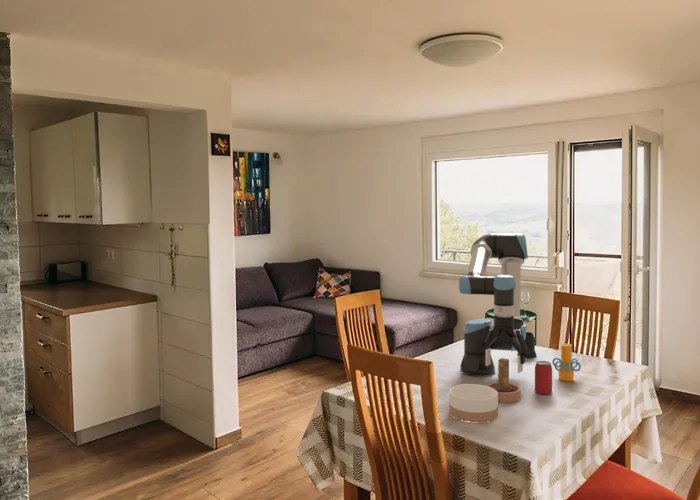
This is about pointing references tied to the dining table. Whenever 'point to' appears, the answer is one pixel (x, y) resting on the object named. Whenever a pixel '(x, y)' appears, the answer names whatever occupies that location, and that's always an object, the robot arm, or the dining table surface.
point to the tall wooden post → (503, 374)
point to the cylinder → (566, 363)
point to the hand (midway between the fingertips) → (503, 368)
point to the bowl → (473, 402)
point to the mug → (530, 345)
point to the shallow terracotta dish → (508, 396)
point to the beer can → (543, 377)
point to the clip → (504, 391)
